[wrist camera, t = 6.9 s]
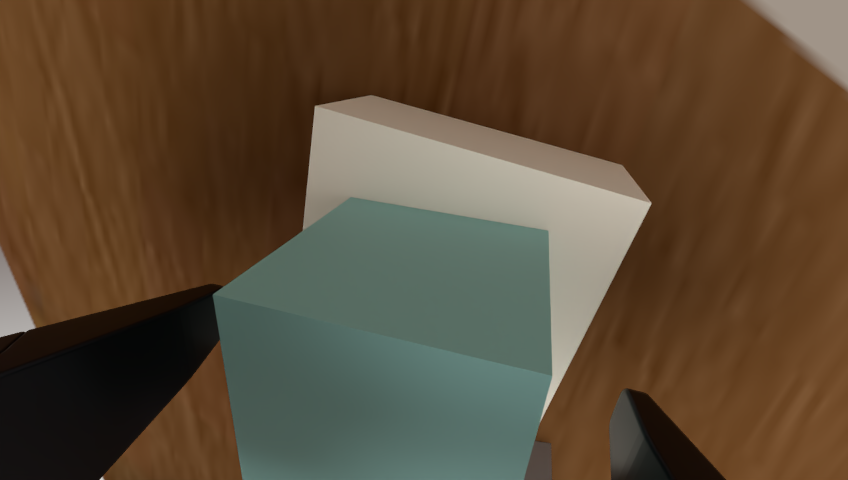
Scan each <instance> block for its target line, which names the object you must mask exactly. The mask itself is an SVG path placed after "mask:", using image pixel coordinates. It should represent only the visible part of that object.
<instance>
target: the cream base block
mask: <svg viewBox="0 0 848 480" xmlns="http://www.w3.org/2000/svg"><path fill="white" fill-rule="evenodd" d="M350 197H353V198H359V199H365V200H371V201H377V202H383V203H389V204H395V205H400V206H406V207H412V208H418V209H424V210H430V211H436V212H442V213H447V214H453V215H459V216H465V217H471V218H477V219H483V220H489V221H495V222H500V223H506V224H512V225H518V226H524V227H530V228H536V229H542V230H547V231H548V232H549V269H550V306H551V343H552V379H551V383H550V387H549V390H548V394H547V398H546V401H545V405H544V408H543V412H542V416H541V419H542V417H543V415H544V413H545V411H546V409H547V408H548V406H549V404H550V402H551V400H552V398H553V396H554V394H555V392H556V390H557V388H558V386H559V384H560V382H561V380H562V378H563V376H564V374H565V372H566V370H567V368H568V366H569V364H570V362H571V360H572V358H573V357H574V355H575V353H576V351H577V349H578V347H579V345H580V343H581V341H582V339H583V337H584V335H585V333H586V331H587V329H588V327H589V325H590V323H591V321H592V319H593V317H594V315H595V313H596V311H597V309H598V308H599V306H600V304H601V302H602V300H603V298H604V296H605V294H606V292H607V290H608V288H609V286H610V284H611V282H612V280H613V278H614V276H615V274H616V272H617V270H618V268H619V266H620V264H621V262H622V260H623V258H624V257H625V255H626V253H627V251H628V249H629V247H630V245H631V243H632V241H633V239H634V237H635V235H636V233H637V231H638V229H639V227H640V225H641V223H642V221H643V219H644V217H645V215H646V213H647V211H648V209H649V207H650V206H651V204H652V203H651V202H650V200H649V199H648V198H647V196H646V195H645V194H644V193H643V191H642V190H641V189H640V187H639V186H638V185H637V183H636V182H635V181H634V180H633V178H632V177H631V176H630V174H629V173H628V172H627V170H626V169H625V168H624V167H623V165H620V164H617V163H613V162H610V161H606V160H603V159H599V158H595V157H592V156H588V155H585V154H581V153H577V152H574V151H570V150H567V149H563V148H560V147H556V146H552V145H549V144H545V143H542V142H538V141H535V140H531V139H527V138H524V137H520V136H517V135H513V134H509V133H506V132H502V131H499V130H495V129H492V128H488V127H484V126H481V125H477V124H474V123H470V122H466V121H463V120H459V119H456V118H452V117H449V116H445V115H441V114H438V113H434V112H431V111H427V110H424V109H420V108H416V107H413V106H409V105H406V104H402V103H398V102H395V101H391V100H388V99H384V98H381V97H377V96H373V95H369V96H364V97H359V98H354V99H348V100H343V101H338V102H332V103H327V104H322V105H317V106H315V111H314V121H313V131H312V141H311V151H310V161H309V172H308V182H307V192H306V202H305V212H304V222H303V230H305V229H306V228H308V227H309V226H311V225H312V224H313V223H315V222H316V221H318V220H319V219H320V218H322V217H323V216H325V215H326V214H328V213H329V212H330V211H332V210H333V209H335V208H336V207H337V206H339V205H340V204H342V203H343V202H345V201H346V200H347V199H349V198H350ZM541 419H540V421H541Z"/></svg>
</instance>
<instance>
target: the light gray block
mask: <svg viewBox="0 0 848 480" xmlns="http://www.w3.org/2000/svg"><path fill="white" fill-rule="evenodd" d="M524 480H552V469H551V443H545V442H538V441H534V445H533V448H532V452H531V456H530V459H529V463H528V466H527V470H526V474H525V477H524Z"/></svg>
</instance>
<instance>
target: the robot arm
mask: <svg viewBox="0 0 848 480" xmlns="http://www.w3.org/2000/svg"><path fill="white" fill-rule="evenodd" d="M223 287H224V286H220V285H216V284H208V285H204V286H200V287H196V288H192V289H188V290H185V291H181V292H177V293H173V294H169V295H165V296H161V297H157V298H153V299H149V300H145V301H141V302H137V303H133V304H130V305H126V306H122V307H118V308H114V309H110V310H106V311H102V312H98V313H94V314H90V315H86V316H82V317H78V318H75V319H71V320H67V321H63V322H59V323H55V324H51V325H47V326H43V327H39V328H35V329H31V330H28V331H27V332H19V333H15V334H11V335H8V336H4V337H0V480H100V478H101V477H102V476H103V475H104V474H105V473H106V472H107V471H108V470H109V468H110V467H111V466H112V465H113V464H114V463H115V462H116V461H117V460H118V458H119V457H120V456H121V455H122V454H123V453H124V452H125V451H126V450H127V448H128V447H129V446H130V445H131V444H132V443H133V442H134V441H135V440H136V438H137V437H138V436H139V435H140V434H141V433H142V432H143V431H144V430H145V428H146V427H147V426H148V425H149V424H150V423H151V422H152V421H153V420H154V418H155V417H156V416H157V415H158V414H159V413H160V412H161V411H162V410H163V408H164V407H165V406H166V405H167V404H168V403H169V402H170V401H171V400H172V398H173V397H174V396H175V395H176V394H177V393H178V392H179V391H180V390H181V388H182V387H183V386H184V385H185V384H186V383H187V382H188V380H189V379H190V378H191V377H192V376H193V374H194V373H195V372H196V371H197V369H198V368H199V367H200V365H201V364H202V363H203V361H204V360H205V359H206V357H207V356H208V355H209V353H210V352H211V351H212V349H213V348H214V347H215V345H216V344H217V342H218V341H219V340H220V336H219V330H218V324H217V318H216V312H215V305H214V299H213V294H214V293H216V292H217V291H218V290H220V289H221V288H223ZM609 433H610V459H611V480H726V479H725V478H724V477H723V476H722V475H721V474H720V472H719V471H718V470H717V469H716V468H715V467H714V466H713V465H712V464H711V463H710V462H709V460H708V459H707V458H706V457H705V456H704V455H703V454H702V453H701V452H700V451H699V450H698V448H697V447H696V446H695V445H694V444H693V443H692V442H691V441H690V440H689V439H688V438H687V436H686V435H685V434H684V433H683V432H682V431H681V430H680V429H679V428H678V427H677V426H676V425H675V423H674V422H673V421H672V420H671V419H670V418H669V417H668V416H667V415H666V414H665V413H664V411H663V410H662V409H661V408H660V407H659V406H658V405H657V404H656V403H655V402H654V401H653V399H652V398H651V397H650V396H649V395H648V394H646V393H644V392H640V391H636V390H632V389H628V388H627V389H624V390H623V391H622V392H621V394H620V396H619V399H618V401H617V404H616V406H615V409H614V411H613V414H612V416H611V420H610V427H609Z"/></svg>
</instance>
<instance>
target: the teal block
mask: <svg viewBox="0 0 848 480" xmlns="http://www.w3.org/2000/svg"><path fill="white" fill-rule="evenodd" d="M213 299H214V305H215V312H216V318H217V324H218V330H219V336H220V342H221V349H222V355H223V361H224V367H225V373H226V380H227V386H228V392H229V398H230V404H231V411H232V417H233V423H234V429H235V435H236V442H237V448H238V454H239V460H240V466H241V473H242V479H243V480H524V477H525V474H526V470H527V466H528V463H529V459H530V456H531V452H532V448H533V445H534V441H535V437H536V434H537V430H538V427H539V423H540V419H541V416H542V412H543V408H544V405H545V401H546V398H547V394H548V390H549V387H550V383H551V379H552V343H551V306H550V269H549V232H548V231H547V230H542V229H536V228H530V227H524V226H518V225H512V224H506V223H500V222H495V221H489V220H483V219H477V218H471V217H465V216H459V215H453V214H447V213H442V212H436V211H430V210H424V209H418V208H412V207H406V206H400V205H395V204H389V203H383V202H377V201H371V200H365V199H359V198H353V197H350V198H349V199H347V200H346V201H345V202H343V203H342V204H340V205H339V206H337V207H336V208H335V209H333V210H332V211H330V212H329V213H328V214H326V215H325V216H323V217H322V218H320V219H319V220H318V221H316V222H315V223H313V224H312V225H311V226H309V227H308V228H306V229H305V230H303V231H302V232H301V233H299V234H298V235H296V236H295V237H294V238H292V239H291V240H289V241H288V242H286V243H285V244H284V245H282V246H281V247H279V248H278V249H277V250H275V251H274V252H272V253H271V254H269V255H268V256H267V257H265V258H264V259H262V260H261V261H260V262H258V263H257V264H255V265H254V266H252V267H251V268H250V269H248V270H247V271H245V272H244V273H243V274H241V275H240V276H238V277H237V278H235V279H234V280H233V281H231V282H230V283H228V284H227V285H226V286H224V287H223V288H221V289H220V290H218V291H217V292H216V293H214V294H213Z"/></svg>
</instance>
